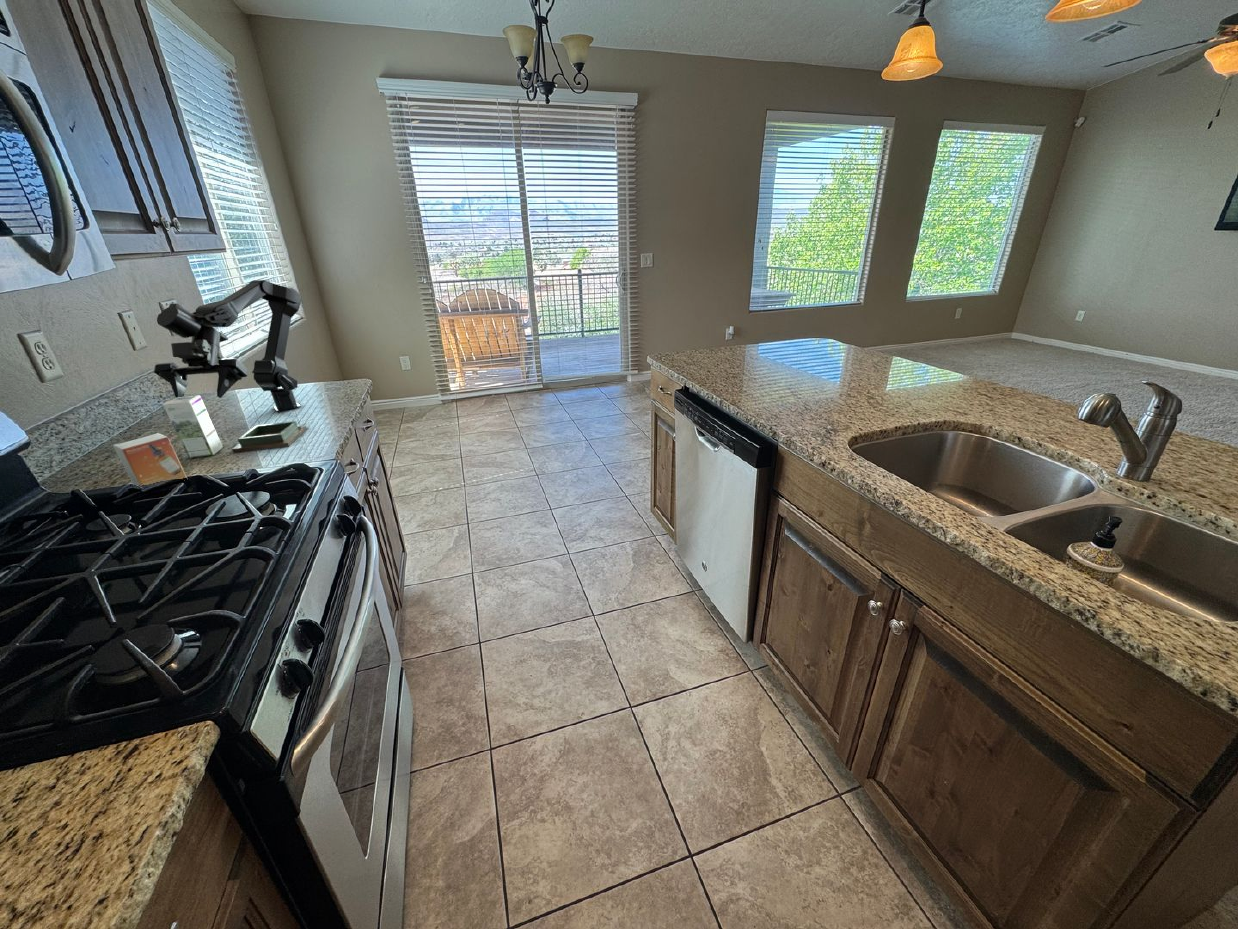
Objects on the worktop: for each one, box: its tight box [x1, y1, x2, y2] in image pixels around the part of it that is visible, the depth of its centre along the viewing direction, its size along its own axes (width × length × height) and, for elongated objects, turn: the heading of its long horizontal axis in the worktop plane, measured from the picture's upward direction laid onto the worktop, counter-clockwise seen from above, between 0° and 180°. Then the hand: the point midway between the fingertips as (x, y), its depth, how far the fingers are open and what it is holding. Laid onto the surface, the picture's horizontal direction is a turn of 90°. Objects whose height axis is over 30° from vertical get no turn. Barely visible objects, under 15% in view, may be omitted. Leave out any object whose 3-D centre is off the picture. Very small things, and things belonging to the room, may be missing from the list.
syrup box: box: [162, 394, 224, 459], centre depth 121 cm, size 6×6×14 cm
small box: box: [112, 432, 188, 486], centre depth 106 cm, size 8×6×10 cm
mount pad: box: [231, 421, 308, 454], centre depth 129 cm, size 13×13×3 cm
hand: (199, 398), depth 124 cm, fingers open, 9 cm apart
